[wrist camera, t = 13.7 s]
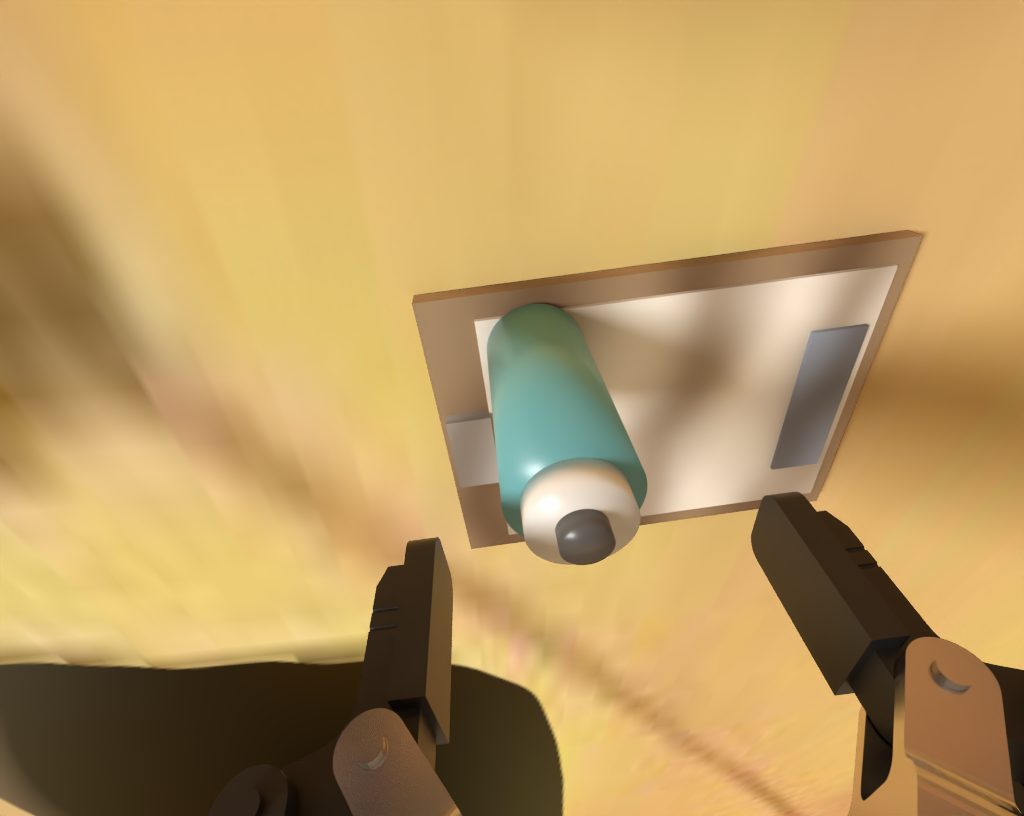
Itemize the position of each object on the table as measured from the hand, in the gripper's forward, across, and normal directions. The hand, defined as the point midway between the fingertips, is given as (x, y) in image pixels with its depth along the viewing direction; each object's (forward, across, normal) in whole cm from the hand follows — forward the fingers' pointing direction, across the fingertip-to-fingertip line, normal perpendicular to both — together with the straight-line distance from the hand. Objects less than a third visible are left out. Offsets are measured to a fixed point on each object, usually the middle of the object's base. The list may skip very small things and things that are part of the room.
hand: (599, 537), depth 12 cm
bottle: (+10, 0, 0) cm, 10 cm away
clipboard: (+11, -5, +5) cm, 13 cm away
